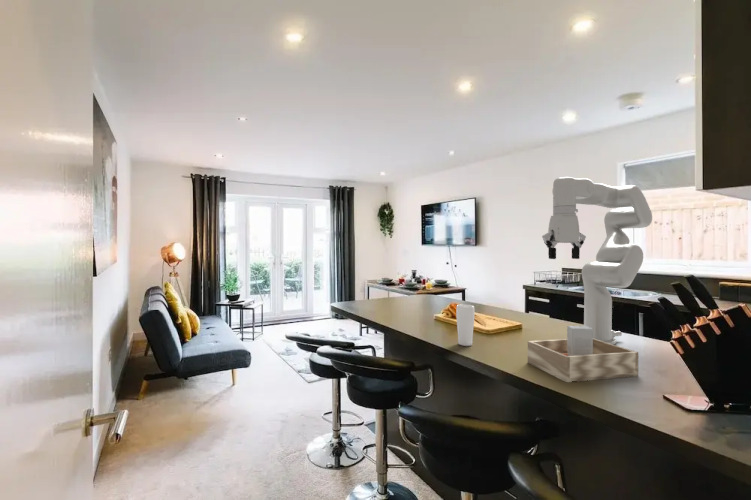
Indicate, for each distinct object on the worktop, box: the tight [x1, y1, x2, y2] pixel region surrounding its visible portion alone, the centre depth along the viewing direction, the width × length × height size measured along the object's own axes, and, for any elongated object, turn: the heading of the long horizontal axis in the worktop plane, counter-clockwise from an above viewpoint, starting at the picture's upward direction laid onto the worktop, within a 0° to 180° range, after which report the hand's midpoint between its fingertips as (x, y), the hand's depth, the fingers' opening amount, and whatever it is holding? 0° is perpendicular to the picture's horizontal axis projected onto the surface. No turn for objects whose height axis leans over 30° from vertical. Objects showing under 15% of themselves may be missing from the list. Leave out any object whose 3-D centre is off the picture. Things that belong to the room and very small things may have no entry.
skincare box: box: [566, 325, 593, 356], centre depth 117 cm, size 6×4×12 cm
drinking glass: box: [455, 303, 475, 347], centre depth 145 cm, size 7×7×15 cm
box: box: [527, 338, 639, 383], centre depth 117 cm, size 24×18×7 cm
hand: (564, 258), depth 138 cm, fingers open, 9 cm apart
